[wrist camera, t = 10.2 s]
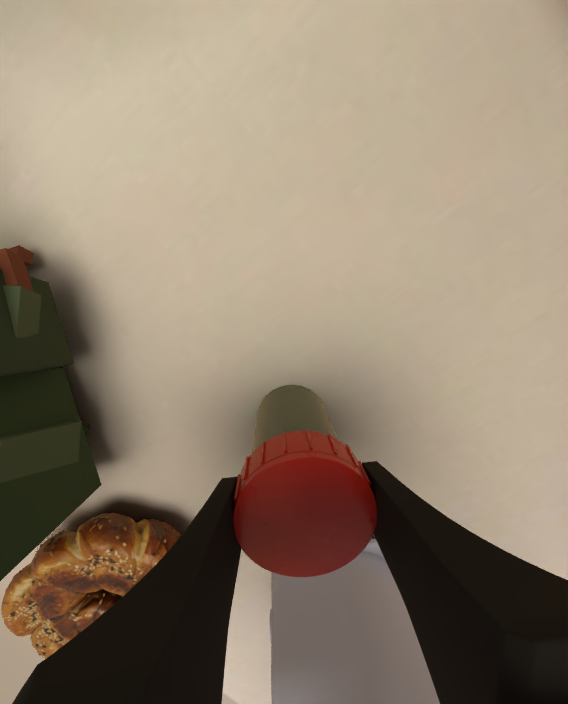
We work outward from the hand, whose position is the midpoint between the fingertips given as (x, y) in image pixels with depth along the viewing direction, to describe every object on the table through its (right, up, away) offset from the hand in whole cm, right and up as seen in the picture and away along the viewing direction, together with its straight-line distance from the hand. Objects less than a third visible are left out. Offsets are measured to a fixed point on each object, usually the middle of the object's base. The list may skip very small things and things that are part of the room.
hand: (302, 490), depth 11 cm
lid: (0, 0, -1) cm, 1 cm away
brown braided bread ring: (-12, -10, +5) cm, 16 cm away
